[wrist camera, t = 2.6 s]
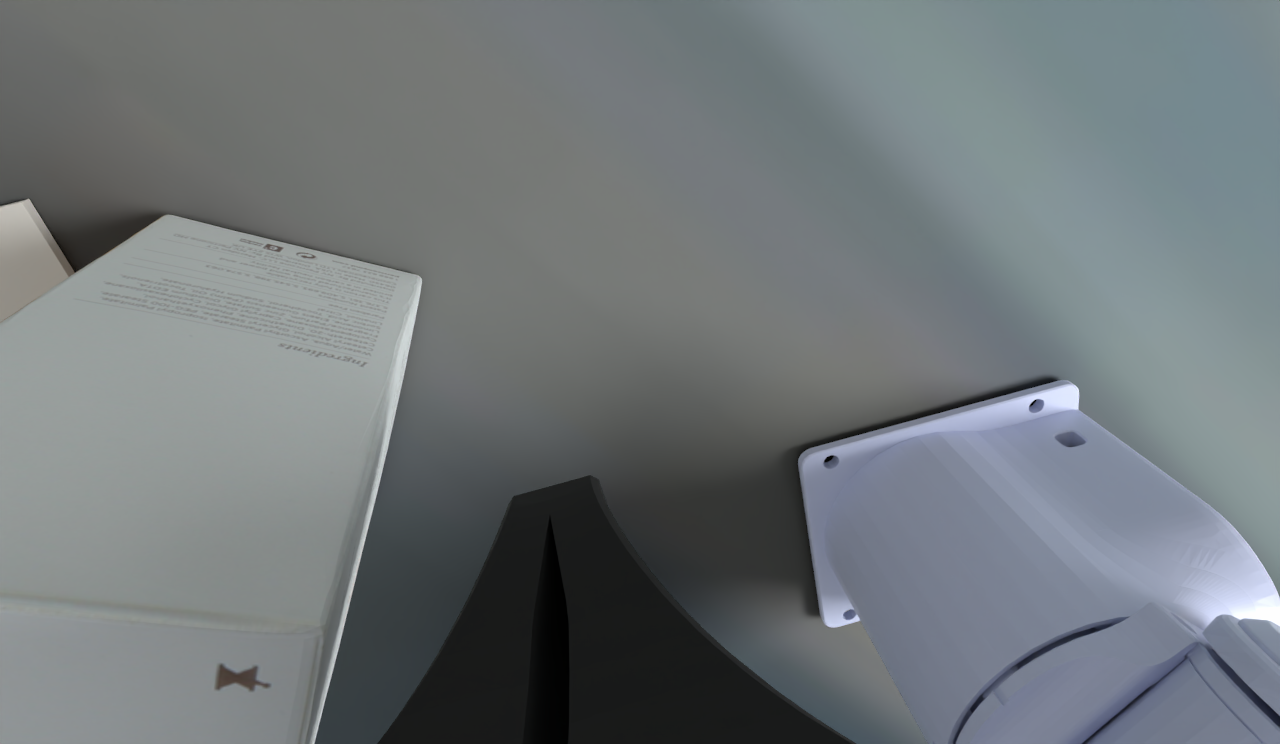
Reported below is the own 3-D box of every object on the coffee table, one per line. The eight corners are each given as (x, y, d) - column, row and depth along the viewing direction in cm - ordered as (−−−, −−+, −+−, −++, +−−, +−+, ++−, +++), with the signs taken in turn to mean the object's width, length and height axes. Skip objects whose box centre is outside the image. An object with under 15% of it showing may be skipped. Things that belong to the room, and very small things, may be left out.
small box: (163, 207, 18) (-407, 552, 7) (427, 272, 20) (341, 629, 8) (141, 480, 21) (-278, 1045, 10) (373, 514, 23) (254, 1024, 11)
